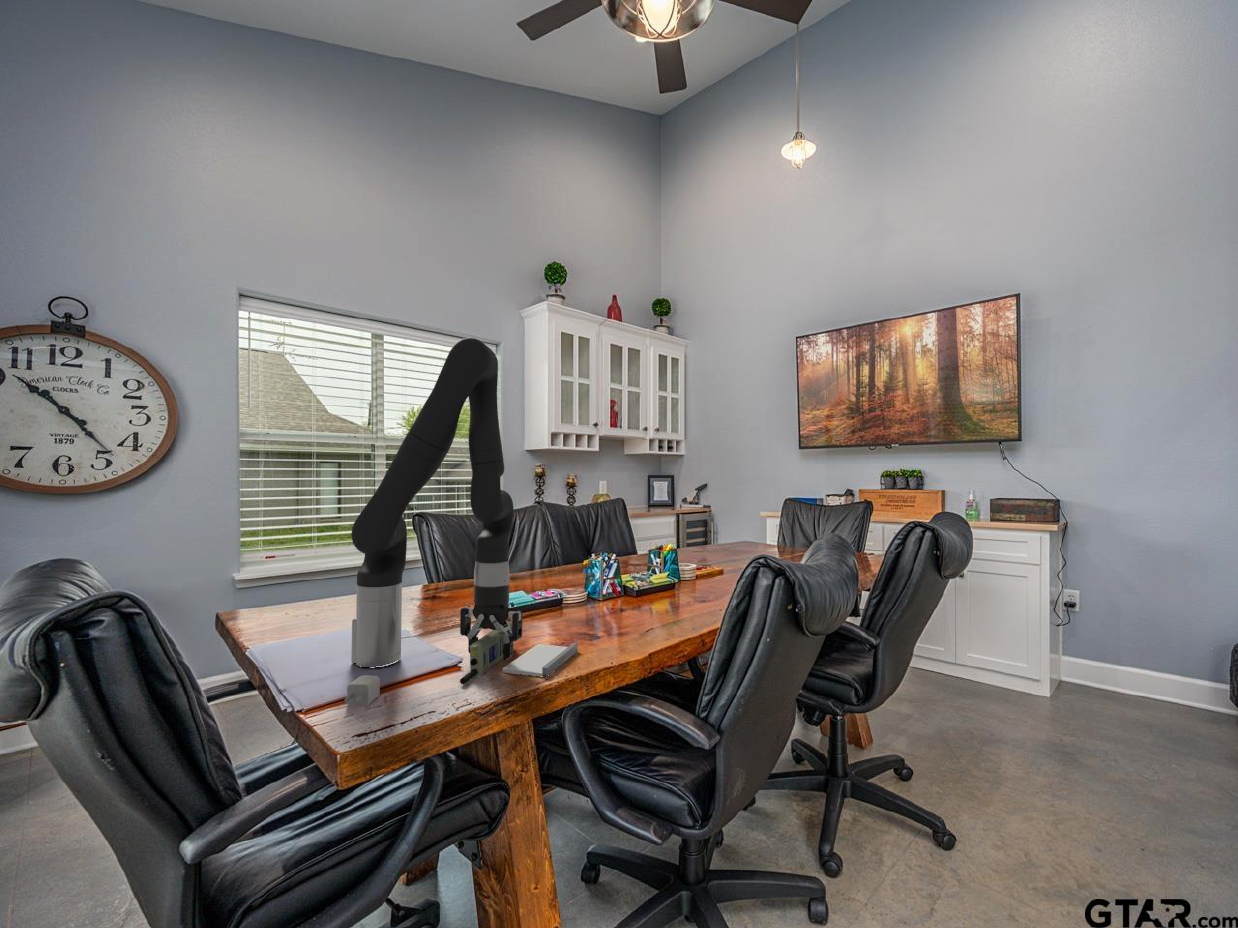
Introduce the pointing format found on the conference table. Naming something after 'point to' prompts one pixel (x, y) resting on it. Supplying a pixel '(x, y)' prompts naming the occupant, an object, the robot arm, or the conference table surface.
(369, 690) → the usb wall charger
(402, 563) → the robot arm
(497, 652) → the handheld radio
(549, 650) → the charging dock
